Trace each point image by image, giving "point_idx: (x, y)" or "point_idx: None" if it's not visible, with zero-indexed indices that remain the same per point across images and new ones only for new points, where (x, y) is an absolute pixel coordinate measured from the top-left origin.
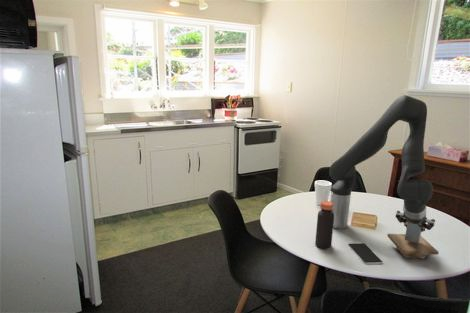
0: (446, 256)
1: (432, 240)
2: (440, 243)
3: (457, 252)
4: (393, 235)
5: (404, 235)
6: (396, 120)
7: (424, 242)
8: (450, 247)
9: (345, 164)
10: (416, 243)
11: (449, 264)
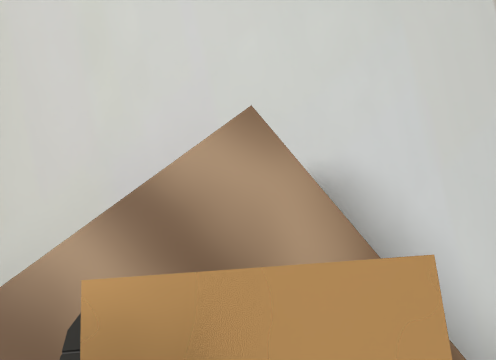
0: (437, 192)
1: (306, 3)
2: (359, 15)
3: (471, 79)
4: (23, 321)
5: (128, 229)
6: None
7: (324, 251)
8: (421, 34)
9: None
10: None
11: (483, 305)
